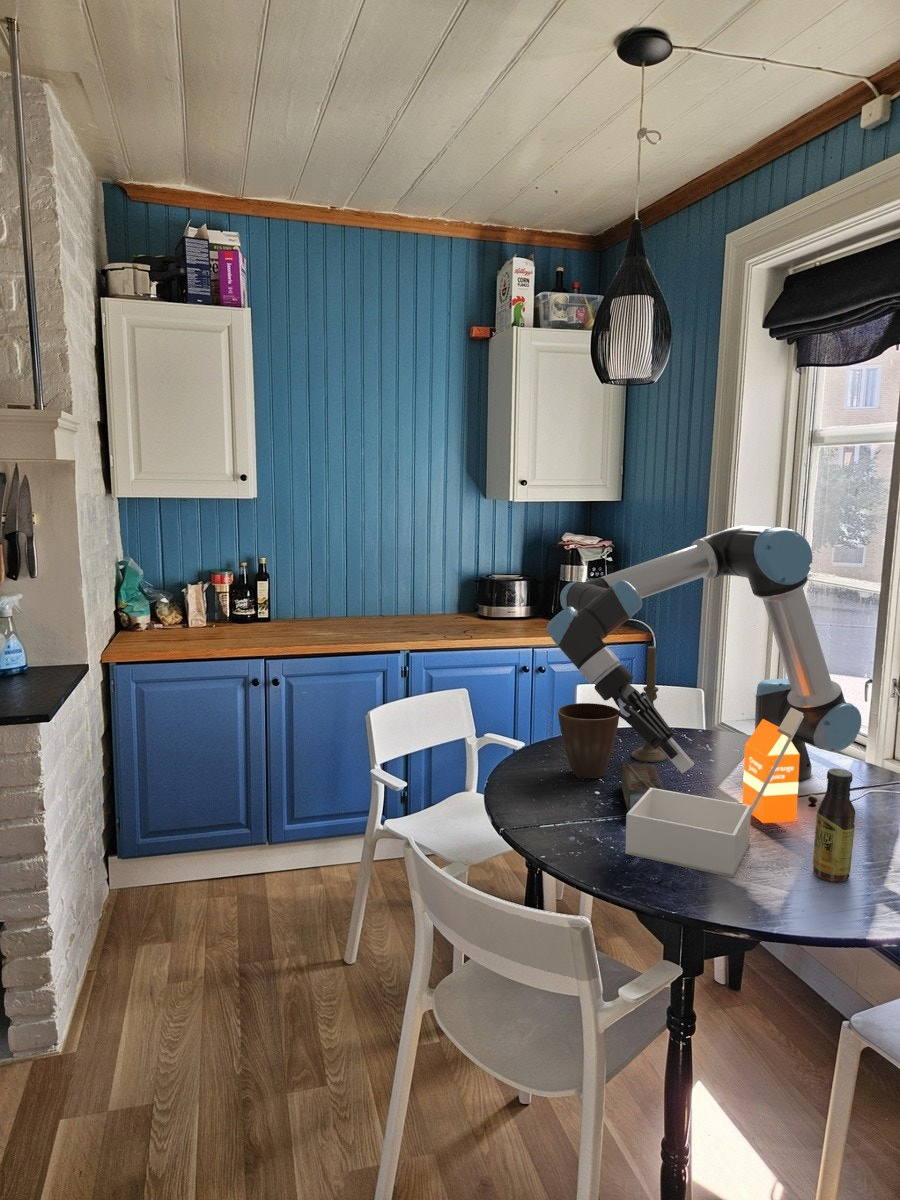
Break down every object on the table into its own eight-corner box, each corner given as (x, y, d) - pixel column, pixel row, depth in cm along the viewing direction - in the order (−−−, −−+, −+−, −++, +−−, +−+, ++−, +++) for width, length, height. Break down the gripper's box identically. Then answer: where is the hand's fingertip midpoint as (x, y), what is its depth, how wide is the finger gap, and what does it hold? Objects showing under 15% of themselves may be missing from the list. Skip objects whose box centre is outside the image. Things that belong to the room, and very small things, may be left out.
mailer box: (625, 853, 157) (626, 814, 156) (649, 824, 171) (650, 787, 170) (733, 877, 147) (734, 835, 146) (749, 844, 161) (751, 805, 160)
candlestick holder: (670, 762, 209) (674, 647, 205) (635, 762, 209) (638, 647, 205) (662, 751, 218) (665, 641, 214) (627, 751, 218) (630, 641, 214)
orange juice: (762, 823, 171) (767, 731, 168) (741, 807, 180) (745, 719, 177) (797, 820, 172) (802, 729, 170) (774, 804, 181) (778, 717, 178)
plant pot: (577, 788, 191) (579, 722, 189) (545, 768, 205) (546, 706, 203) (630, 779, 197) (632, 715, 195) (596, 760, 211) (597, 700, 209)
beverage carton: (627, 820, 174) (628, 790, 173) (619, 787, 193) (620, 760, 192) (666, 821, 173) (666, 791, 172) (654, 788, 192) (655, 761, 191)
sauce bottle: (805, 868, 151) (811, 765, 148) (838, 867, 151) (844, 764, 148) (824, 885, 144) (831, 778, 141) (858, 884, 145) (865, 776, 142)
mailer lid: (777, 729, 140) (793, 737, 139) (791, 706, 154) (805, 713, 153) (725, 828, 147) (739, 836, 145) (743, 798, 161) (756, 805, 160)
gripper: (604, 679, 170) (682, 769, 164) (582, 693, 159) (665, 790, 153) (630, 657, 167) (710, 748, 161) (609, 669, 156) (695, 767, 150)
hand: (688, 768), depth 157 cm, fingers closed
